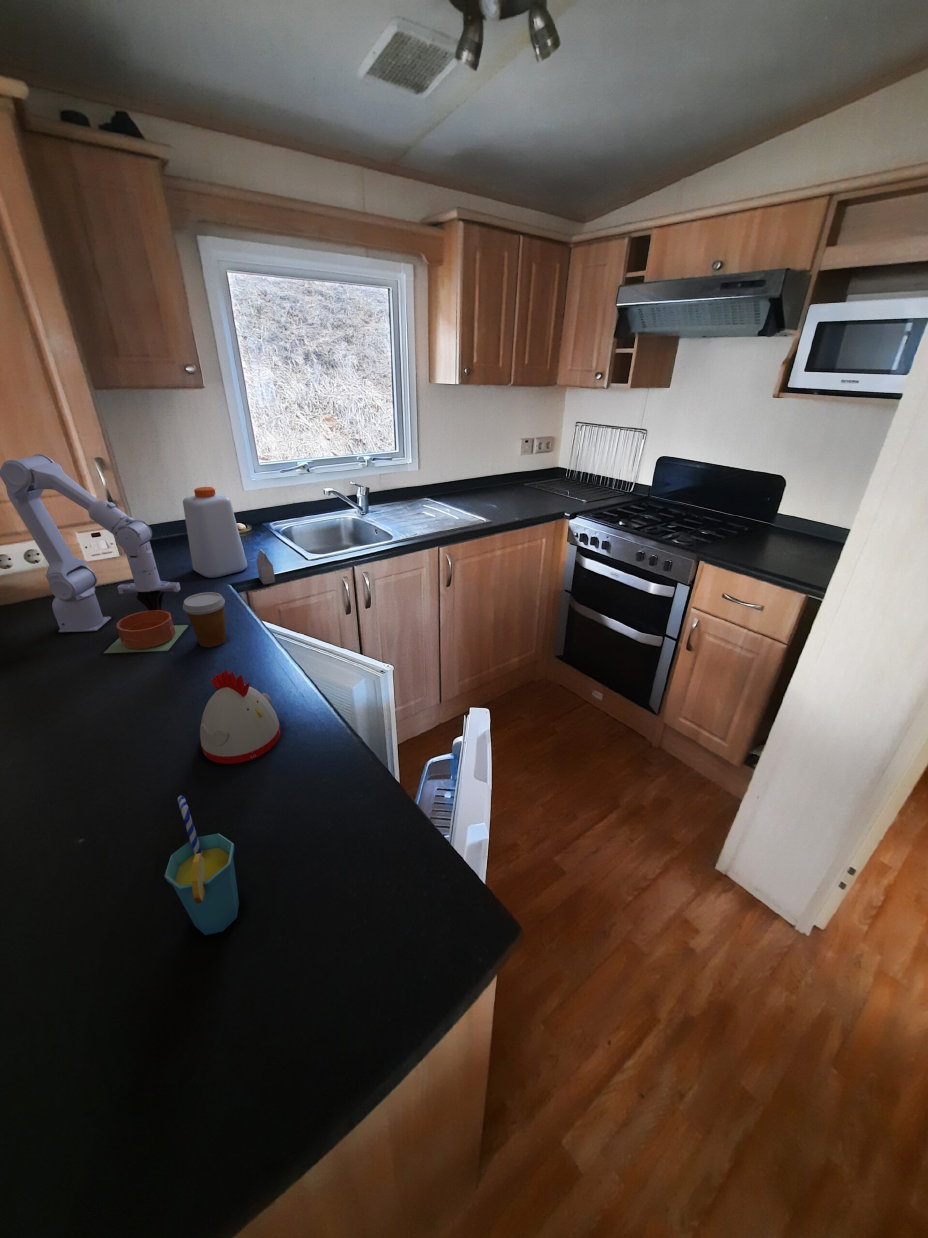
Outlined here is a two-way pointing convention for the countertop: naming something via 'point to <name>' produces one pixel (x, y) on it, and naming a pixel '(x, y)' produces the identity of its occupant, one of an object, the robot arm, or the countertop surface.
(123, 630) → the bowl
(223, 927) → the cup
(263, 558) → the beige gable carton
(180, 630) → the mat
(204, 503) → the plastic bottle
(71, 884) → the countertop surface
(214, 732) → the kitchen timer
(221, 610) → the disposable coffee cup
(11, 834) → the countertop surface
